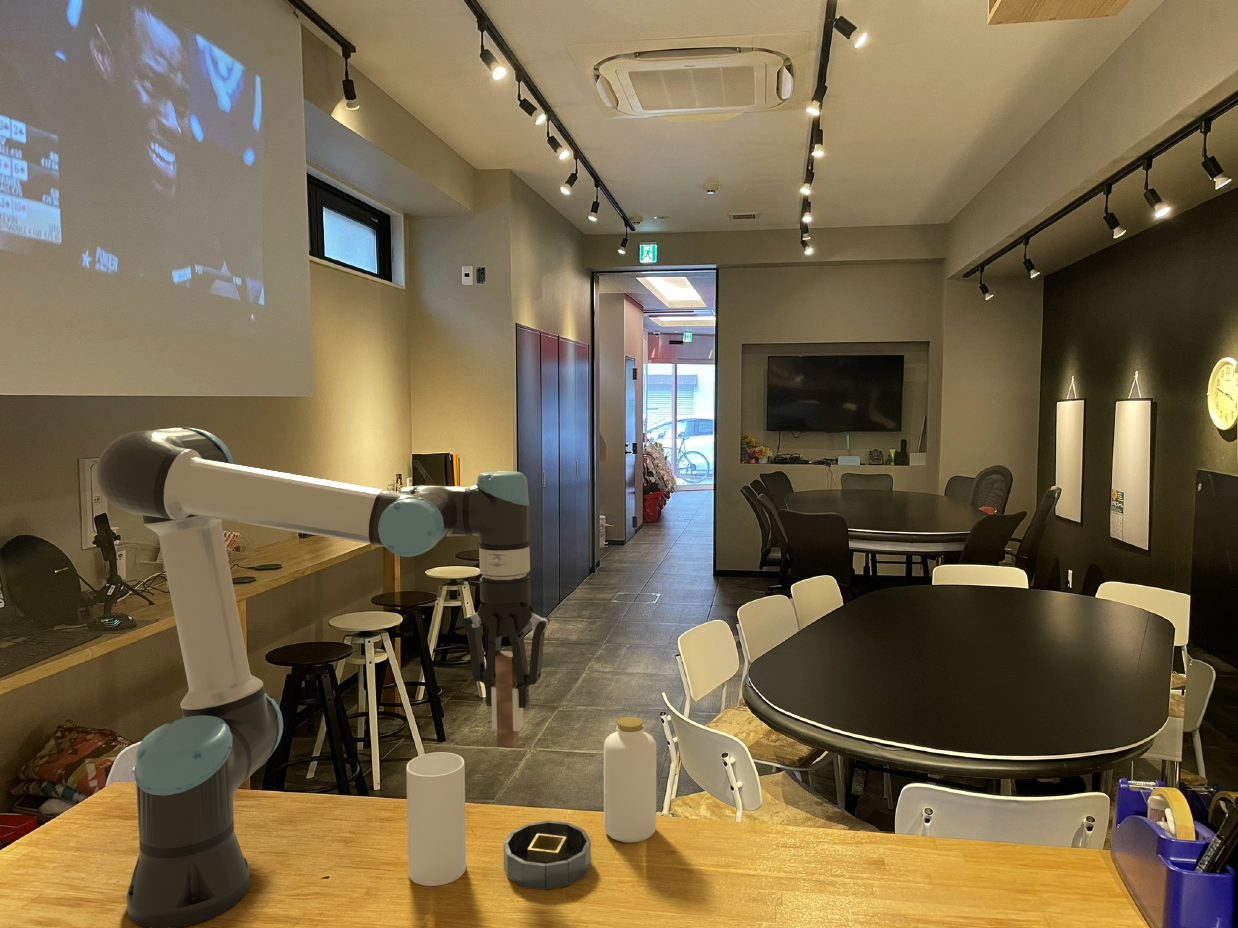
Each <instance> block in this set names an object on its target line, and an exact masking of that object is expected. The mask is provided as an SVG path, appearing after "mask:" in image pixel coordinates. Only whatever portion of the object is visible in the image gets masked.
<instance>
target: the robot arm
mask: <svg viewBox="0 0 1238 928" xmlns="http://www.w3.org/2000/svg"><path fill="white" fill-rule="evenodd" d="M95 476H96V482H97V485H98V487H99V490H100V492H101V493H102V495H103V496H104V498H105V499H106V500H107V501H108V502H109V503H110V504H111V505H112V506H114V507H116V508H117V509H119V510H121V511H124V512H126V513H129V514H133V515H140V516H142V519H143V525H144V527H146V528H147V529H150V530H151V531H152V532H155V534H157V536H158V540H159V546H160V551H161V555H162V561H163V565H164V570H165V574H166V580H167V585H168V590H169V595H170V600H171V606H172V610H173V614H174V615H173V616H174V621H175V624H176V625H175V626H176V630H177V635H178V641H179V645H180V650H181V654H182V655H181V656H182V661H183V665H184V671H185V676H186V681H187V686H188V692H187V693H186V694H185V696H184V697H183V698H182V701H180V711H181V714H182V717H181V718H179V719H175V720H173V722H172V723H168V722H167V723H165V724H162V725H160V726H158V727H157V728H155V729H153V730H152V731H150V732H149V733H148V734H146V736H145V737H144V738H143V739H142V740H141V742H140V744H139V745H138V747H137V750H136V756H135V759H136V760H135V765H134V780H135V789H136V803H137V805H136V806H137V823H138V843H139V844H138V845H139V853H138V857H137V859H136V864H135V865H134V866H135V867H134V870H133V874H132V876H131V878H130V879H131V880H130V884H129V886H128V890H127V893H126V910H127V911H126V913H127V917H128V918H129V919H130V921H131V922H132V923H134V924H135V925H138V926H140V927H143V928H182V927H183V928H184V927H187V926H191V925H195V924H198V923H202V922H204V921H208V920H210V919H212V918H214V917H217V916H218V915H220V914H223V913H224V912H226V911H228V910H229V909H231V908H232V907H233V906H235V905H236V904H237V903H239V902H240V901H241V899H243V898H244V896H245V895H246V894H247V892H248V890H249V888H250V885H251V884H250V883H251V881H250V880H251V879H250V877H251V876H250V867H249V863H248V861H247V859H246V858H245V857H244V854H243V851H242V849H241V846H240V843H239V841H238V838H237V836H236V833H235V819H234V818H235V815H234V794H235V792H236V791H238V789H239V788H240V787H241V786H243V784H244V783H245V782H246V781H247V780H248V779H249V778H250V777H251V776H252V775H253V774H254V773H255V772H256V771H257V770H259V769H260V768H261V767H263V765H265V764H266V762H267V761H269V759H270V757H272V755H273V753H274V752H275V750H276V748H277V747H278V745H279V743H280V742H281V738H282V736H283V730H284V722H283V721H284V720H283V715H282V712H281V710H280V707H279V705H278V704H277V702H276V701H275V699H274V698H271V697H270V696H269V694H267V693H266V692H265V691H266V689H265V686H264V682H263V680H261V679H260V678H258V677H257V676H254V675H253V674H252V673H251V669H250V665H249V661H248V660H249V659H248V655H247V650H246V644H245V639H244V635H243V629H242V624H241V618H240V614H239V609H238V603H237V599H236V598H237V597H236V593H235V588H234V583H233V579H232V573H231V567H230V562H229V557H228V556H229V555H228V553H227V548H226V547H227V546H226V542H225V537H224V532H223V526H222V525H223V524H222V523H223V521H226V522H227V521H228V522H235V523H241V524H244V525H245V524H246V525H253V526H258V527H265V528H271V529H277V530H282V531H283V530H284V531H290V532H294V533H295V532H296V533H300V534H307V535H314V536H320V537H325V538H331V539H336V540H337V539H338V540H343V541H350V542H355V543H360V544H361V543H363V544H368V545H374V546H378V547H384V548H386V550H388V551H389V552H391V553H392V554H394V555H397V556H400V557H405V558H408V557H409V558H410V557H415V556H419V555H423V554H425V553H426V552H429V551H430V550H431V549H433V548H434V547H435V546H437V544H438V542H440V541H442V539H444V538H446V537H466V536H468V537H474V536H478V549H479V550H478V552H479V553H478V555H479V561H478V562H479V573H480V574H481V575H482V576H481V577H480V578H479V600H480V601H479V602H480V605H479V607H478V609H477V611H476V612H475V613H470V614H468V615H467V616H465V617H464V618H462V619H461V622H462V626H463V628H464V629H465V632H466V634H467V641H468V648H469V657H470V665H471V666H470V667H471V673H472V678H473V680H474V681H473V682H480V683H482V684H483V685H484V686H485V687H484V688H485V704H486V706H488V707H491V729H492V730H493V731H494V730H496V731H497V704H496V669H495V656H496V655H497V654H498V653H499V652H501V649H502V647H501V646H502V639H503V637H506V638H508V641H509V644H510V646H511V652H512V653H513V660H514V667H515V674H516V680H517V684H516V685H515V686H514V688H513V689H512V696H513V731H520V729H521V728H522V727H523V726H524V709H526V708H527V707H528V705H529V703H530V686H531V685H532V686H533V685H535V684H537V682H538V681H539V680H540V679H541V677H542V667H543V656H544V647H545V646H544V645H545V637H546V636H545V635H546V631H547V630H548V626H549V624H550V619H549V617H546V616H545V617H541V616H540V615H538V614H536V613H535V612H534V611H535V610H534V608H533V606H532V604H531V577H530V576H529V574H528V573H529V572H530V571H531V560H530V559H531V556H530V553H531V552H530V500H529V499H530V498H529V483H528V478H527V476H526V475H525V474H524V473H523V472H520V471H512V470H510V471H508V470H498V471H485V472H481V473H479V474H478V476H477V482H476V484H474V485H467V486H465V485H451V486H450V485H425V484H420V485H415V486H404V487H401V488H400V489H399V490H398V491H393V490H385V489H382V488H375V487H370V486H364V485H358V484H351V483H347V482H346V483H345V482H340V481H335V480H329V479H324V478H322V479H321V478H317V477H316V478H315V477H309V476H304V475H297V474H293V473H288V472H279V471H275V470H268V469H262V468H258V467H257V468H256V467H251V466H246V465H245V466H244V465H240V464H235V463H234V459H233V456H232V454H231V452H230V449H229V448H228V446H227V445H226V444H225V443H224V442H223V441H222V440H221V439H220V438H218V437H217V436H216V435H214V434H212V433H211V432H209V431H206V430H203V429H199V428H193V427H192V428H191V427H186V426H184V427H173V428H164V429H163V428H161V429H153V430H152V429H150V430H136V431H132V432H131V431H130V432H128V433H125V434H122V435H120V436H118V437H117V438H115V439H114V440H113V441H111V442H110V443H109V444H108V445H107V446H106V447H105V448H104V450H103V451H102V452H101V455H100V456H99V459H98V461H97V465H96V473H95ZM481 621H482V622H481ZM481 623H483V625H484V627H485V628H486V629H487V631H488V634H487V635H488V636H487V642H488V643H487V644H488V646H487V655H486V662H485V655H484V654H485V653H484V648H483V647H484V646H483V637H482V631H481ZM529 623H531V630H532V631H533V634H532V638H531V650H530V661H529V666H528V660H527V653H526V651H527V650H526V647H525V632H524V631H525V628H526V627H527V625H528V624H529Z"/></svg>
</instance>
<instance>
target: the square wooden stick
mask: <svg viewBox="0 0 1238 928" xmlns="http://www.w3.org/2000/svg"><path fill="white" fill-rule="evenodd" d="M495 669H496V704H497V730H496V747H497V748H508V749H514V748H515V747H516V746H517V744H518V743H519V742H520V735H519V733H520V732H519V731H520V730H519V731H513V696H512V689H513V688H514V686H515V685H516V684H517V680H516V674H515V667H514V660H513V653H512V651H505V650H504V651H503V650H500V652H499V653H498V654H497V655H496V656H495Z"/></svg>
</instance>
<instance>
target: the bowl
mask: <svg viewBox="0 0 1238 928" xmlns="http://www.w3.org/2000/svg"><path fill="white" fill-rule="evenodd" d="M591 843H592V840H591V839H590V837H589V835H588V833H587V832H586V830H585V829H583V828H581V827H579V826H578V825H575V824H573V823H570V822H563V821H558V820H557V821H555V820H545V821H539V822H538V821H537V822H532V823H531V822H530V823H526V824H525V825H522V826H520V827H519V828H516V829H514V830H513V831H510V833H509V834H508V836H507V838H506V839H505V840H504V842H503V868H504V872H505V874H506V877H507V879H508V880H510V881H511V882H514V883H516V884H517V885H519V886H520V887H522V888H524V889H526V888H527V889H532V890H533V889H534V890H542V891H549V890H555V889H560V888H566V887H569V886H572V885H574V884H575V883H576V882H578V881H580V880H581V879H583V878H585V877H586V876H587V874H588V872H589V869H590V867H591V864H592V853H591V852H592V849H591V847H592V844H591Z"/></svg>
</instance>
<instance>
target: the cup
mask: <svg viewBox="0 0 1238 928" xmlns="http://www.w3.org/2000/svg"><path fill="white" fill-rule="evenodd" d="M465 772H466V771H465V760H464V758H463V756H461V755H459V754H456V753H452V752H445V751H444V752H441V751H440V752H439V751H438V752H437V751H436V752H430V753H424V754H421V755H418V756H417V757H414V758H412V759H411V760H409V761H408V762H407V764H406V815H407V816H406V817H407V818H406V819H407V821H406V822H407V860H408V861H407V863H408V864H407V865H408V866H407V868H408V869H407V870H408V873H407V874H408V877H409V879H410V880H411V881H412V882H413V883H415V884H418V885H421V886H427V887H437V886H442V885H447V884H450V883H452V882H455V881H457V880H458V879H459V878H461V877H462V876H463V874H464V873H465V872H466V869H467V856H466V855H467V854H466V853H467V852H466V850H467V845H466V844H467V843H466V839H467V838H466V786H465V785H466V784H465V783H466V782H465V781H466V779H465V777H466V775H465Z"/></svg>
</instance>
